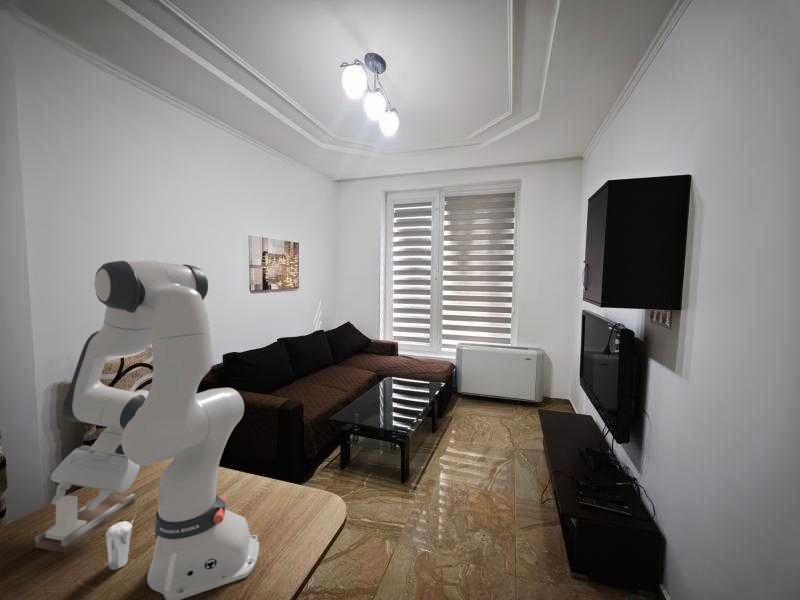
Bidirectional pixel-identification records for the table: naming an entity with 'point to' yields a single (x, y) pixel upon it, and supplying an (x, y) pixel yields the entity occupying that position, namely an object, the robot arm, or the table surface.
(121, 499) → the fader track
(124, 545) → the milkshake
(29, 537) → the table surface
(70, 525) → the fader tab
